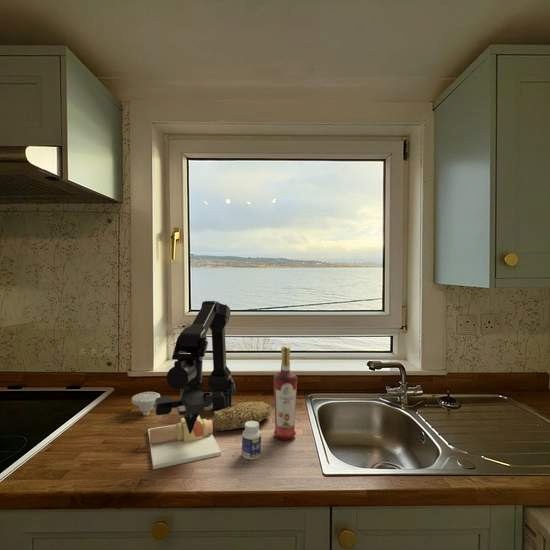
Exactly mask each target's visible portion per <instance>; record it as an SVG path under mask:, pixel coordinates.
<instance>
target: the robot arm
mask: <svg viewBox="0 0 550 550" xmlns="http://www.w3.org/2000/svg"><path fill="white" fill-rule="evenodd" d="M230 318H231V308H230V307H229V305H227V304H223V303H221V302H219V301H217V300H205V301H202V302H201V308H200V310H199V311H198V313H197V315H196V316H195V318H194V320H193V321H192V323H191V325H189V326H186V327H185V328H184V329H183V330H182V331H181V332H180V334H179V335H178V337H177V338H176V342H175V345H174V349H173V352H172V356H171V360H174V362H173V363H174V364H173V366H172V367H171V368H170V369H169V370H168V372H167V374H166V381H167V384H168V386H170V388H172V389H174V390H180V395H179V396H180V399H174V400H171V396H162V397H161V396H160V398H157V399H156V400H155V403H154V411H155V415H157V416H163V415H169V414H170V413H171V412H172V411H173V409H175V408H176V410H177V414H178V415H180V416H182V417H183V418H185V421H186V424H187V428H188V431H189V434H191V432H192V430H193V427H194V424H195V422H196V419H197V417H198V416H200V414H203V413H204V412H205V411H206V410H205V408H209V407H210V408H211V410H212V411H213V413H214V412H215V411H219V410H221V409H224V408H227V407H230V408H231V407H232V396H233V395H235V394H236V384H235V381H234V379H233V378H232V371H231V370H230V369H229V367H228V366H227V350H226V349H227V348H226V346H227V345H226V326H227V325H228V322H229V321H230ZM209 329H210V331H211V345H212V348H211V349H212V365H213V366H212V367H213V369H212V372H211V373H210V375H209V376H208V382H207V387H208V388H207V389H208V391H204V390H203V362H204V361H203V358H204V357H205V355H206V351H207V348H208V345H209V341H208V338H207V333H208V331H209ZM175 360H176V361H175Z"/></svg>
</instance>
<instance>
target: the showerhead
mask: <svg viewBox="0 0 550 550" xmlns="http://www.w3.org/2000/svg"><path fill="white" fill-rule="evenodd" d="M160 397H161V394H160V393H158V392H155V391H144V392H140V393H139V392H138V393H137V394H134V395H133V396H132V397H131V403H132V404H133V405H135V406H138V410H139V411H140V412H142V415H143V416H149V415H150V411H152V410H153V409H154V405H155V400H156V399H157V398H160Z"/></svg>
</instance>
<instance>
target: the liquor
mask: <svg viewBox="0 0 550 550" xmlns="http://www.w3.org/2000/svg"><path fill="white" fill-rule="evenodd" d="M280 350H281V351H280V352H281V365H280V366H281V367H280V371H279V372H276V373H275V374H274V375H273V395H274V396H273V398H274V399H273V400H274V422H275V423H274V424H275V426H274V431H273V434H274V436H276V437H277V438H278V439H279V440H281V441H290V440H291V439H292V438H294V437H295V436H296V435H297V432H296V430H295V426H296V425H295V423H296V422H295V421H296V404H297V403H296V401H297V389H298V388H297V387H298V386H297V385H298V376H297V375H296V373H294V372H292V371H291V363H290V355H291V347H290V346H287V345H285V346H284V345H283V346H281V348H280Z"/></svg>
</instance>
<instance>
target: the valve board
mask: <svg viewBox="0 0 550 550" xmlns="http://www.w3.org/2000/svg"><path fill="white" fill-rule="evenodd" d="M197 420H198V421H200V422H201V424H202V426H203V428H204V436H200V437H195V435H194V432H193V430H192V432H191V434H189V431H188V428H187V424H186V421H185V418H184V417H181V418H180V422H178V423H175V424H169V425H165V426H164V425H163V426H158V427H150V428H148V429H147V433H148V434H147V435H148V440H149V441H148V442H149V447H150V455H151V462H152V463H151V464H152V470H156V469H161V468H166V467H170V466H171V467H172V466H177V465H180V464H181V465H182V464H186V463H190V462H195V461H200V460H205V459H209V458H213V457H214V458H215V457H220V456H222V451H221V449H220V447H219V445H218V443H217V441H216V439H215V437H214V435H213V432H214V424H213V420H212V419H206V418H201V416H200V415H199V416H198V417H197Z"/></svg>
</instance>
